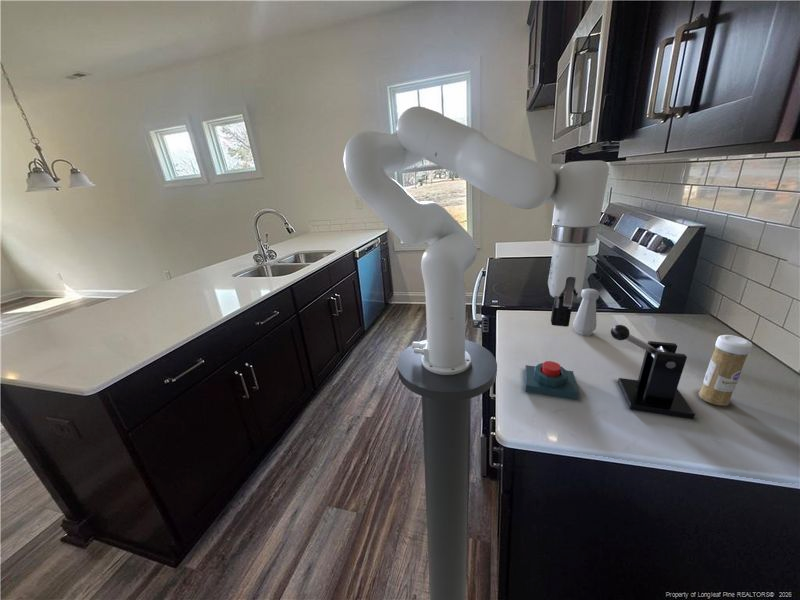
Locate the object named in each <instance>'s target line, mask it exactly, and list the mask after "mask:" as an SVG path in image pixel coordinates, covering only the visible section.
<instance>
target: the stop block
mask: <svg viewBox="0 0 800 600" xmlns="http://www.w3.org/2000/svg"><path fill="white" fill-rule="evenodd" d="M543 363H544V362H541V363H537V365H529V364H526V365H524V366H525V367H524V387H525V390H524V391H525V392H526V393H533V394H537V395H545V396H551V397H557V398H558V397H559V398H565V399H572V400H578V398H579V390H578V389H579V388H578V386H577V382H576V378H575V374H574V371H573V370H568V369H567V370H566V368H564V367H563V366H561V371H560V375H559V376H558V377H551V376H547V375H545V374H543V372H542V366H543Z"/></svg>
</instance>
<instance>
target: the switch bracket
mask: <svg viewBox="0 0 800 600" xmlns="http://www.w3.org/2000/svg"><path fill="white" fill-rule="evenodd" d="M647 344H649V345H651V346H653V347H654V348H656V349H657V348H658V347H659V346H662V347H664V348H665V349H667V350H669V351H671V352H673V353H668V352H659V351H656V353H655V356H654V358H653V357H652V355H651V354H652V353H650V352H648V351H646V350H645V352H644V355H643V360H642V364H641V366H640V371H639V375H638V378H637V379H631V378H624V377H623V378H622V377H618V378H617V384H618V386H619V388H620V391H621V393H622V395H623V397H624V400H625V402H626V404H627V406H628V409H629V410H632V411H638V412H645V413H651V414H656V415H663V416H670V417H676V418H682V419H688V420H689V419H690V420H695V419H694V418H695V417H696V413H695V412H694V410H693V409H692V407H691V406H690V405H689V403H688V402H687V401H686V399H685V398H684V396H683V395H682V394H681V392H680V391H679V389H678V387H679V383H680V380H681V377H682V374H683V371H684V368H685V365H686V361H687V358H688V356H687V355H686V354H685V353H678V352H677V349H678V344H677V343H674V342H665V341H653V340H648V341H647ZM676 352H677V353H676Z"/></svg>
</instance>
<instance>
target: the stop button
mask: <svg viewBox="0 0 800 600" xmlns="http://www.w3.org/2000/svg"><path fill="white" fill-rule="evenodd" d="M542 363H543V366H542V372H543V374H545V375H547V376H551V377H558V376H559V375H560V371H561V367H562V366H561V364H559V363H558V362H555V361H551V360H548V361H547V360H546V361H544V362H542Z"/></svg>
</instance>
